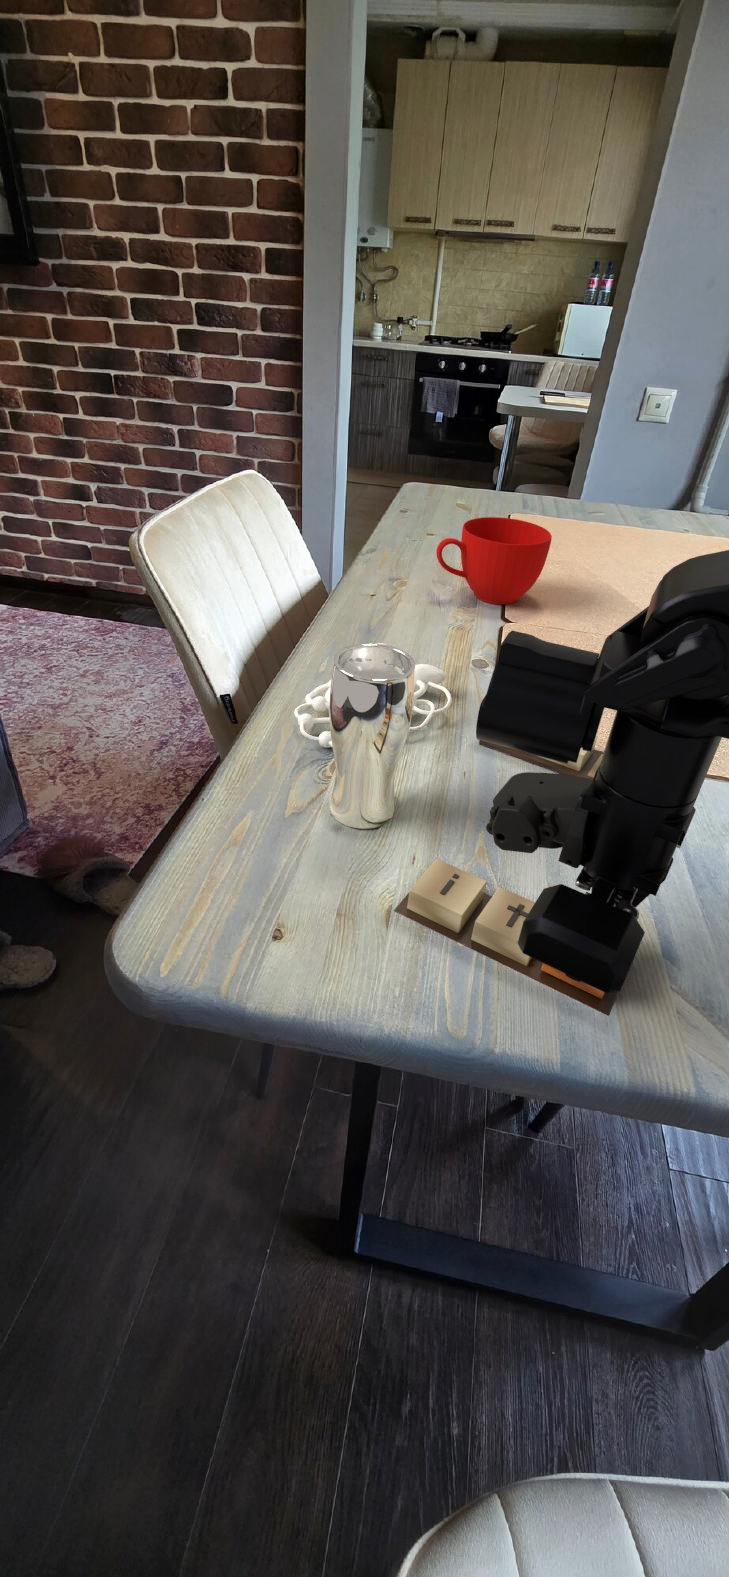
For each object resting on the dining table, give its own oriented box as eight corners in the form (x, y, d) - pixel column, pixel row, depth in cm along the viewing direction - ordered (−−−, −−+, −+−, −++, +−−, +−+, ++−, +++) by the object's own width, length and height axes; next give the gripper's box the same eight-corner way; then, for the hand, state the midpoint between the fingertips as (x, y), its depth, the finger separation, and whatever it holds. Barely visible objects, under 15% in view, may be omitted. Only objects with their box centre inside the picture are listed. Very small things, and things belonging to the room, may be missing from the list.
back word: (653, 773, 76) (660, 752, 74) (637, 802, 72) (645, 780, 70) (501, 720, 82) (505, 700, 81) (478, 743, 78) (482, 722, 77)
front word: (630, 963, 55) (640, 939, 53) (606, 1019, 51) (616, 995, 49) (428, 872, 61) (432, 848, 60) (392, 914, 57) (395, 890, 56)
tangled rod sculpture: (370, 785, 73) (375, 752, 70) (261, 723, 78) (262, 691, 76) (467, 707, 85) (475, 677, 83) (367, 659, 91) (371, 629, 88)
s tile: (620, 958, 54) (627, 938, 53) (601, 999, 51) (609, 979, 50) (561, 931, 56) (568, 912, 55) (540, 970, 53) (546, 950, 51)
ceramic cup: (418, 582, 115) (425, 517, 110) (517, 579, 119) (529, 516, 114) (445, 616, 105) (455, 546, 100) (552, 611, 109) (568, 544, 104)
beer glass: (402, 790, 70) (419, 646, 62) (397, 837, 65) (416, 686, 56) (330, 782, 71) (337, 638, 62) (319, 828, 65) (325, 676, 56)
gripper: (569, 679, 53) (527, 843, 63) (457, 806, 40) (424, 990, 49) (729, 729, 49) (658, 898, 58) (663, 890, 36) (584, 1074, 45)
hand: (584, 955), depth 53 cm, fingers closed on s tile, 4 cm apart
